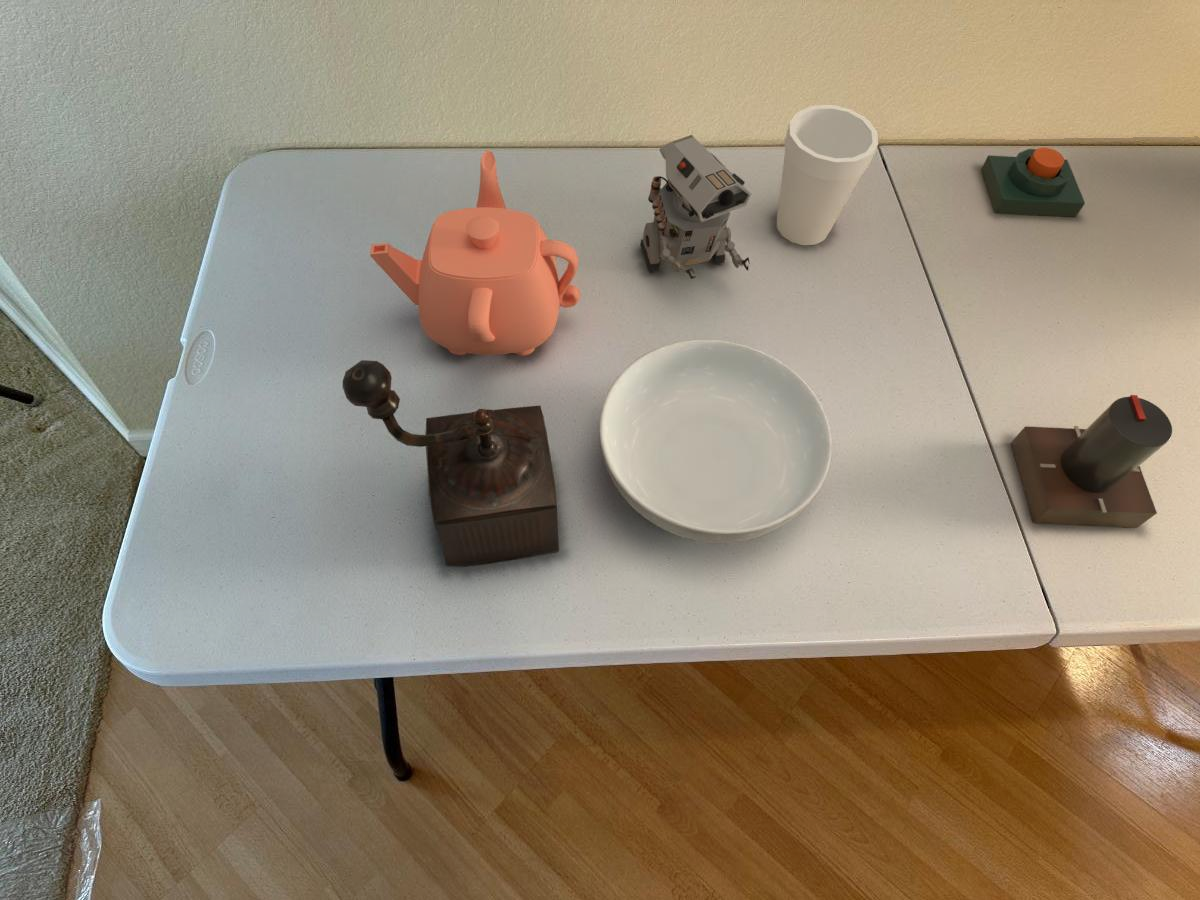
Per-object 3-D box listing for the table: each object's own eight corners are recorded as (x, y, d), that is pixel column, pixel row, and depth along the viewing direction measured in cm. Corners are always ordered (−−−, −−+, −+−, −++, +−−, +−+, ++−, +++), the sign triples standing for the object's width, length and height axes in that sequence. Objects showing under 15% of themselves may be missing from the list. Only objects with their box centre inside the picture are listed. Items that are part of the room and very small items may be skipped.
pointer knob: (1125, 494, 75) (1183, 446, 68) (1069, 490, 75) (1121, 442, 68) (1109, 446, 77) (1163, 396, 70) (1055, 443, 77) (1104, 392, 70)
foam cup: (747, 224, 96) (771, 130, 85) (794, 188, 100) (823, 93, 89) (811, 267, 93) (844, 174, 82) (857, 228, 96) (895, 135, 85)
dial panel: (1108, 445, 81) (1127, 428, 79) (1138, 529, 76) (1159, 514, 74) (1010, 440, 81) (1025, 423, 78) (1033, 525, 76) (1050, 509, 73)
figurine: (660, 313, 88) (677, 206, 75) (636, 239, 94) (648, 128, 81) (740, 302, 90) (769, 195, 77) (711, 229, 95) (734, 119, 83)
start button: (1052, 160, 99) (1059, 148, 97) (1060, 180, 97) (1068, 168, 95) (1023, 158, 99) (1030, 146, 97) (1030, 178, 97) (1037, 166, 95)
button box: (1058, 173, 103) (1075, 147, 100) (1075, 217, 99) (1093, 191, 95) (980, 169, 103) (994, 142, 99) (994, 213, 99) (1009, 186, 95)
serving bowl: (690, 347, 86) (699, 303, 80) (854, 466, 79) (877, 427, 73) (551, 468, 77) (550, 428, 72) (721, 612, 70) (735, 582, 65)
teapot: (384, 323, 86) (357, 226, 75) (496, 240, 93) (486, 140, 82) (492, 406, 81) (481, 316, 70) (601, 312, 88) (607, 216, 77)
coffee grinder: (544, 450, 78) (539, 330, 63) (561, 554, 73) (560, 449, 58) (382, 471, 77) (336, 352, 61) (386, 579, 71) (337, 478, 56)
